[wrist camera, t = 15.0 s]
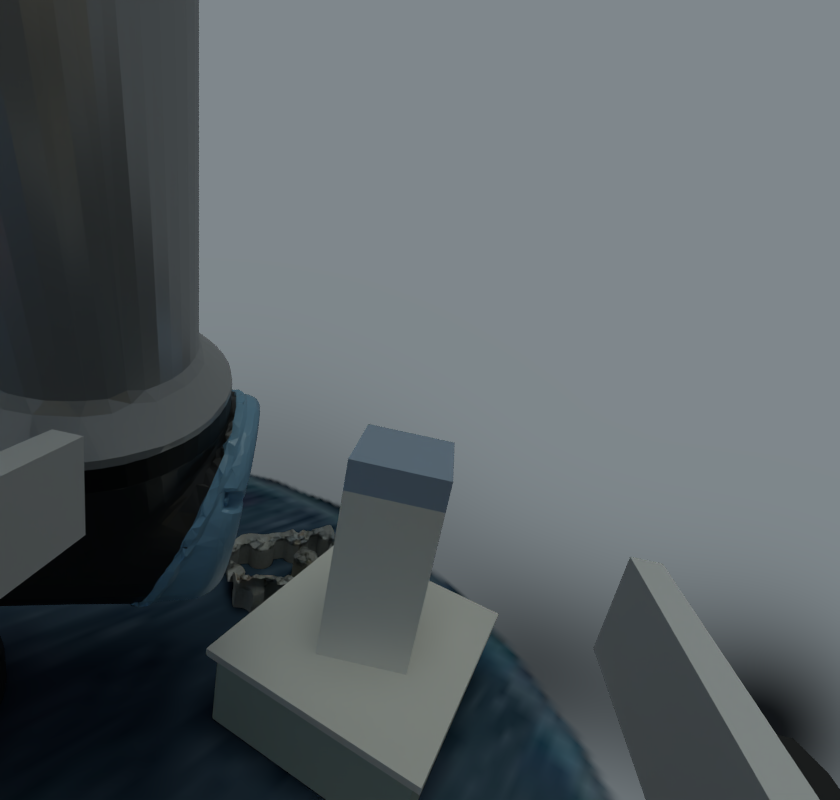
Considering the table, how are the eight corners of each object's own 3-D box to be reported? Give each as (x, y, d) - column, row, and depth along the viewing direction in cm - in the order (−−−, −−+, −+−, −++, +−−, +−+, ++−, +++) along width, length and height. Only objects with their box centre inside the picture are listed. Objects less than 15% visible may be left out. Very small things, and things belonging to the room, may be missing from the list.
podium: (200, 720, 31) (206, 648, 29) (332, 593, 44) (341, 539, 43) (399, 865, 26) (421, 788, 24) (480, 671, 39) (498, 613, 37)
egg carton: (229, 621, 39) (232, 581, 38) (222, 564, 46) (225, 527, 44) (350, 600, 44) (357, 564, 43) (329, 551, 51) (335, 518, 49)
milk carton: (315, 653, 30) (348, 458, 26) (338, 591, 36) (368, 424, 32) (406, 674, 30) (453, 481, 26) (414, 609, 36) (454, 442, 32)
